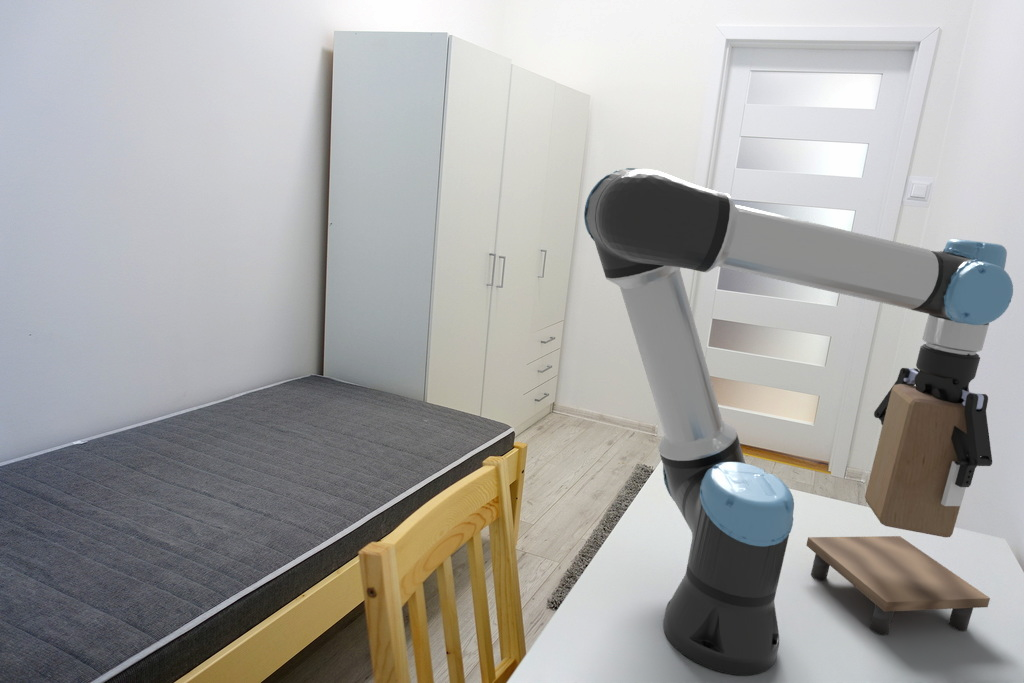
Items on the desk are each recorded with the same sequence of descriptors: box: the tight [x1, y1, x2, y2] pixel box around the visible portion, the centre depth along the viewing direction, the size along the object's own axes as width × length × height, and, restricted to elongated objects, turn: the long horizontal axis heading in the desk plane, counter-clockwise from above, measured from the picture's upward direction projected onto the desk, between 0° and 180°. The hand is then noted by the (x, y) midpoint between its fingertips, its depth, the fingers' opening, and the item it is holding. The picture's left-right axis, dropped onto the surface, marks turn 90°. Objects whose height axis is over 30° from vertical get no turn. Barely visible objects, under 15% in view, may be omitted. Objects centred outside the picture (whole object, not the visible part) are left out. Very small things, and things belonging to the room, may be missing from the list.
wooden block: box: [864, 384, 968, 538], centre depth 106 cm, size 10×10×20 cm
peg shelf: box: [806, 535, 991, 636], centre depth 111 cm, size 18×18×6 cm
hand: (915, 484), depth 107 cm, fingers open, 13 cm apart
